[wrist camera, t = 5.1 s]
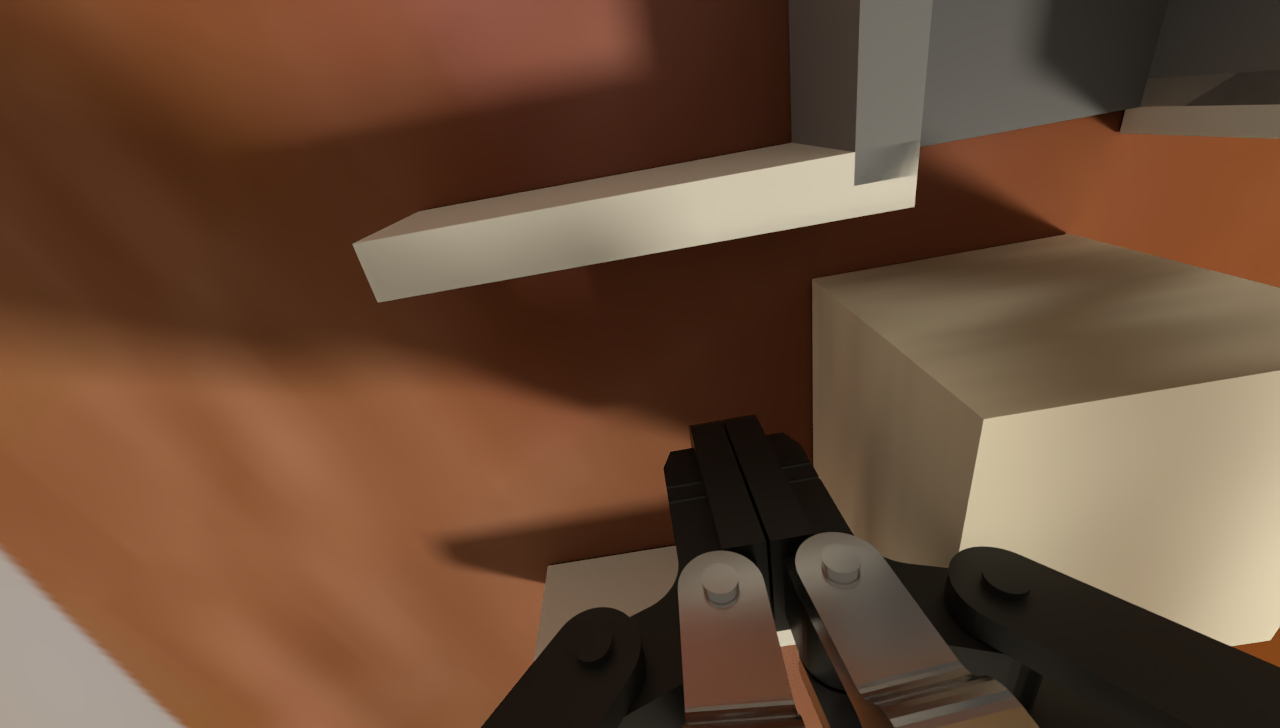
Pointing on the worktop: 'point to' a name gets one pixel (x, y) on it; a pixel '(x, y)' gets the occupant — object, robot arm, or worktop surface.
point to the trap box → (853, 158)
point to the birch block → (1062, 421)
